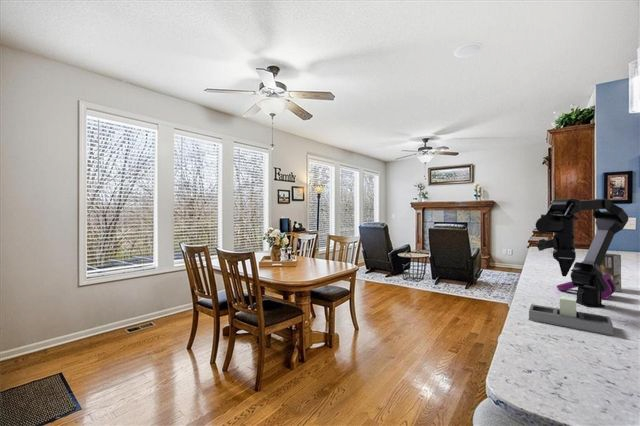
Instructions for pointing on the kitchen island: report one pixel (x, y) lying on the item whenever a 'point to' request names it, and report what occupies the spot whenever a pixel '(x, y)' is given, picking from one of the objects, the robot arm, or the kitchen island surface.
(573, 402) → the kitchen island surface
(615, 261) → the coffee box
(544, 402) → the kitchen island surface
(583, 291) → the robot arm
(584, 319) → the slotted holder
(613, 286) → the mounting bracket
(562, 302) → the peg
